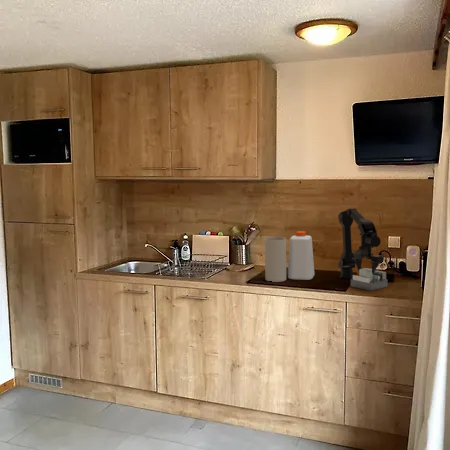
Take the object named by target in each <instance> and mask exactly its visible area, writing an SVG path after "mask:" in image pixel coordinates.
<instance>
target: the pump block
mask: <svg viewBox="0 0 450 450" xmlns="http://www.w3.org/2000/svg"><path fill="white" fill-rule="evenodd" d="M358 272H359V273H358V274H359V275H358V276H362V277H367V278H370V281H371V280H372V279H373V274H372V268H366V267H363V268H361V269H359V271H358Z"/></svg>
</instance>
